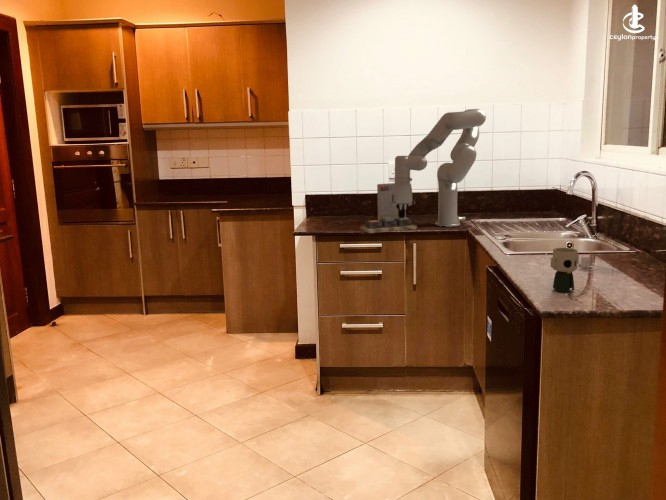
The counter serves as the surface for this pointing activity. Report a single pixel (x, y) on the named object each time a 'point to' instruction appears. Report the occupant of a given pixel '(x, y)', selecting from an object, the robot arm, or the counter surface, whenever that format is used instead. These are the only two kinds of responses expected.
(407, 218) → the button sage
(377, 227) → the button board
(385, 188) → the cracker box
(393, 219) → the button slate
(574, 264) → the beige and green figure
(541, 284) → the counter surface
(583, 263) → the teacup and saucer
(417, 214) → the counter surface
